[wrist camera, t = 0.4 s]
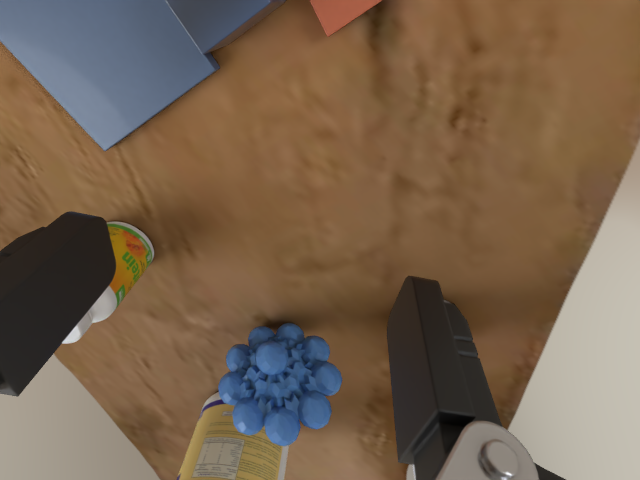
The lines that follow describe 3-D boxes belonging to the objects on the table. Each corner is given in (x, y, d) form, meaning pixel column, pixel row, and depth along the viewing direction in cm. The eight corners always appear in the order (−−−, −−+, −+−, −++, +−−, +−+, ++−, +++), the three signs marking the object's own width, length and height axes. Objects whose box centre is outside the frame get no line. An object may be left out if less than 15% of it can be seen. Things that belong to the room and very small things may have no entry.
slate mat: (-45, -22, 21) (-61, -23, 20) (63, -166, 17) (48, -174, 16) (112, 146, 26) (104, 151, 26) (220, 67, 23) (215, 70, 22)
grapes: (338, 292, 33) (331, 415, 24) (346, 338, 37) (343, 460, 27) (224, 299, 35) (174, 415, 25) (243, 342, 39) (206, 458, 29)
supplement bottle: (162, 268, 33) (102, 353, 26) (108, 264, 34) (33, 347, 26) (147, 221, 30) (73, 301, 22) (88, 217, 31) (-5, 295, 23)
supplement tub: (190, 387, 46) (118, 556, 32) (277, 380, 43) (240, 562, 29) (227, 433, 52) (181, 589, 39) (304, 430, 50) (284, 597, 36)
